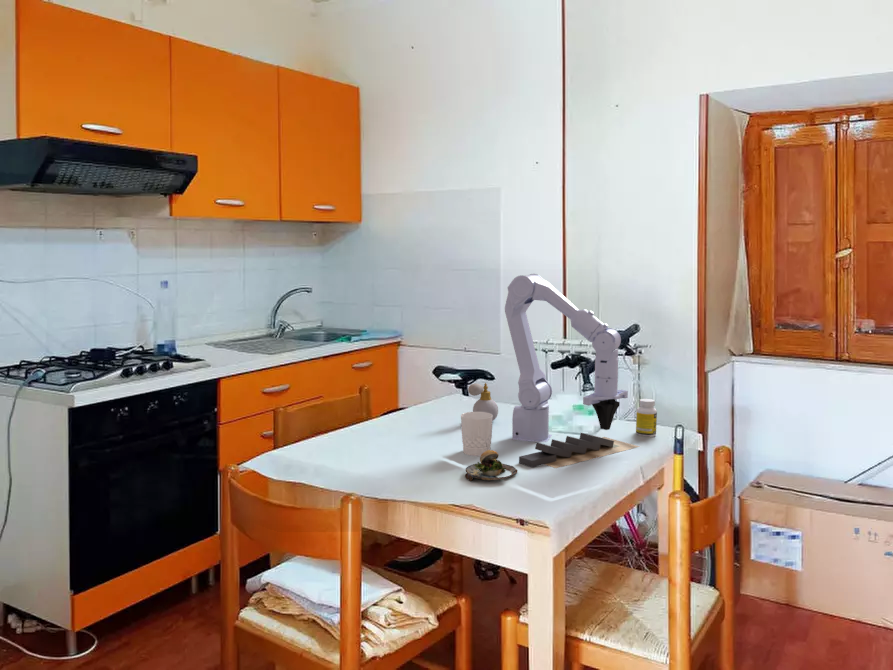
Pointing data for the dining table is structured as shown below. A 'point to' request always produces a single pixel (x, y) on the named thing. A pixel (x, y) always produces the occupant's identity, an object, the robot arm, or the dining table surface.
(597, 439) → the domino
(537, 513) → the dining table surface
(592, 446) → the domino
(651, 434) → the supplement bottle
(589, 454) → the oak board
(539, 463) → the domino
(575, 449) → the domino
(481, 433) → the white cup
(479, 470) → the burger
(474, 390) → the perfume bottle
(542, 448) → the domino
